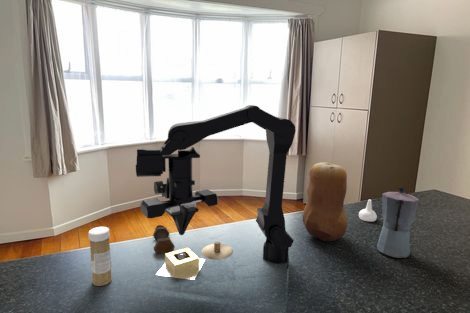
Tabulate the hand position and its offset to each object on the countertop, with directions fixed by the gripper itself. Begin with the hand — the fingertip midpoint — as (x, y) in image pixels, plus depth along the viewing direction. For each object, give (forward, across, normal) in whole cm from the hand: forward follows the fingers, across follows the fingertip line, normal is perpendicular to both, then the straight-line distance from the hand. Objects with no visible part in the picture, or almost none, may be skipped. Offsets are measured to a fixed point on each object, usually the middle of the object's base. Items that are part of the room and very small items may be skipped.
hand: (181, 234), depth 79 cm
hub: (+10, 0, 0) cm, 10 cm away
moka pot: (+10, -57, +25) cm, 63 cm away
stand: (+10, -12, -2) cm, 16 cm away
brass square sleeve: (+9, 0, 0) cm, 9 cm away
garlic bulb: (+10, -74, +5) cm, 75 cm away
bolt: (+10, -1, -16) cm, 19 cm away
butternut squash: (+10, -47, +7) cm, 48 cm away
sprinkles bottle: (+10, +18, -6) cm, 22 cm away
